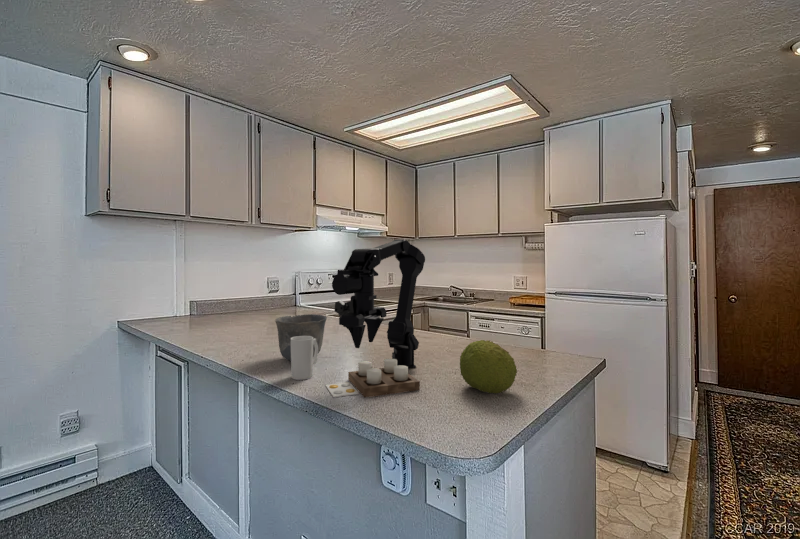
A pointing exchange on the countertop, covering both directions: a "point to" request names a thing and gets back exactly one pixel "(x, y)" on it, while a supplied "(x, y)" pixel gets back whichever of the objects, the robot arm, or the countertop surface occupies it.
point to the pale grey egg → (389, 365)
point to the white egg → (364, 367)
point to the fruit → (487, 367)
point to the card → (342, 389)
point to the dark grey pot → (299, 331)
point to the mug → (303, 357)
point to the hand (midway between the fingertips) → (364, 345)
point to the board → (382, 384)
